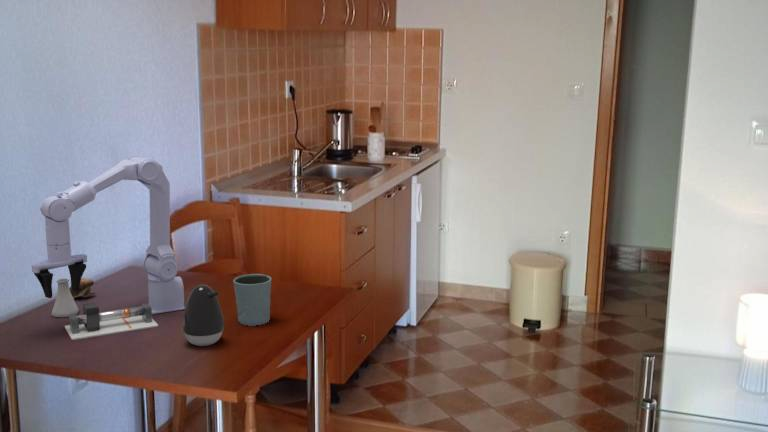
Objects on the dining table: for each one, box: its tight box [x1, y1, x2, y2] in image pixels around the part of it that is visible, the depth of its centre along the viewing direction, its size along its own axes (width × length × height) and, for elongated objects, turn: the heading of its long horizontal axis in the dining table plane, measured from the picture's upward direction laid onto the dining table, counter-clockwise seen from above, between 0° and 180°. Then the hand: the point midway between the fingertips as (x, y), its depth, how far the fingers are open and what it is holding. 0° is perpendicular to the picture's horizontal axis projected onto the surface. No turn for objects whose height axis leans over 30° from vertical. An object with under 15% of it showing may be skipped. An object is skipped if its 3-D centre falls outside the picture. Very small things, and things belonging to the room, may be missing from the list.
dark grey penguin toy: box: [182, 284, 225, 347], centre depth 210 cm, size 10×10×15 cm
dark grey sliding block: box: [82, 302, 100, 331], centre depth 219 cm, size 3×5×6 cm, turn 30°
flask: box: [50, 277, 80, 318], centre depth 231 cm, size 7×7×10 cm
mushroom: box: [69, 278, 96, 299], centre depth 247 cm, size 8×8×6 cm
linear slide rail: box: [68, 303, 153, 334], centre depth 222 cm, size 20×4×4 cm, turn 120°
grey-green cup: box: [232, 273, 272, 327], centre depth 227 cm, size 10×10×12 cm
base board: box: [64, 316, 159, 341], centre depth 222 cm, size 22×11×1 cm, turn 120°
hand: (62, 293), depth 217 cm, fingers open, 7 cm apart
